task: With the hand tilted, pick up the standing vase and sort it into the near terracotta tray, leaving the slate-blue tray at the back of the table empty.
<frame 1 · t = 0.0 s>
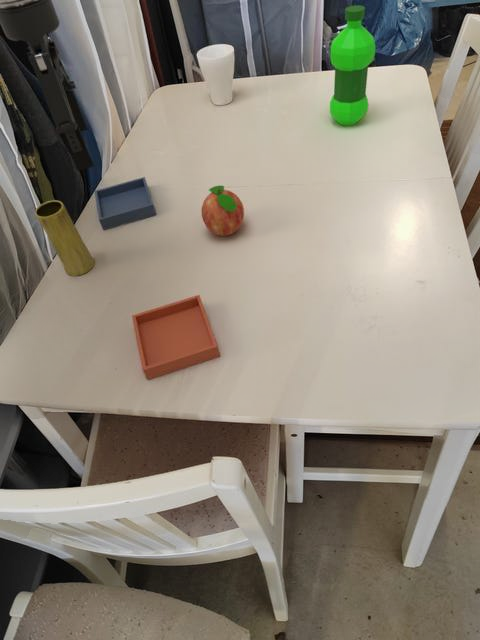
hand: (83, 148, 75), 23 cm above the table, tool pointing down, fingers open, 13 cm apart
cup: (222, 101, 133), on the table
slate tray: (126, 207, 103), on the table
terracotta tray: (176, 340, 75), on the table
plastic bottle: (347, 121, 116), on the table
fruit: (225, 230, 93), on the table
vase: (80, 266, 91), on the table
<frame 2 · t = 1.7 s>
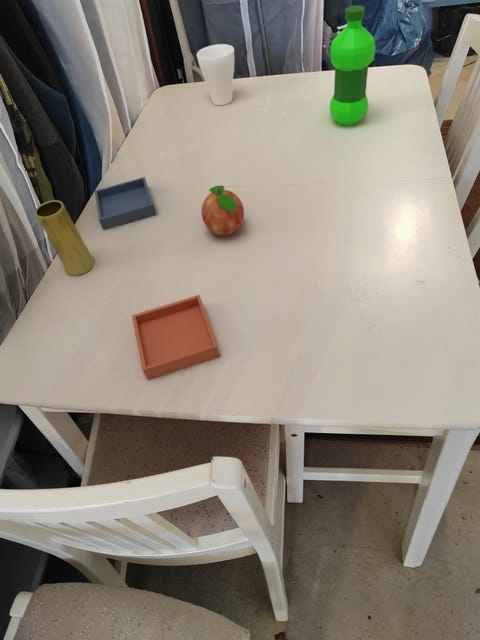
hand: (2, 194, 81), 16 cm above the table, tool tilted 45°, fingers open, 13 cm apart
nothing on the table moved.
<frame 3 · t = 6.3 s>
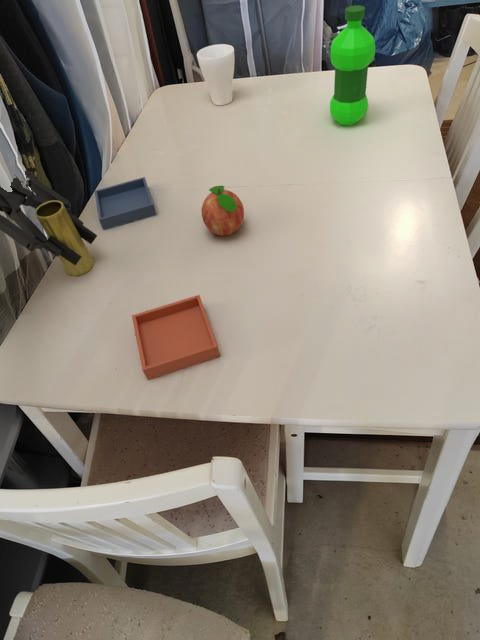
hand: (86, 250, 86), 5 cm above the table, tool tilted 45°, fingers closed on vase, 5 cm apart
vase: (80, 266, 91), on the table, touching gripper
everything else where it was.
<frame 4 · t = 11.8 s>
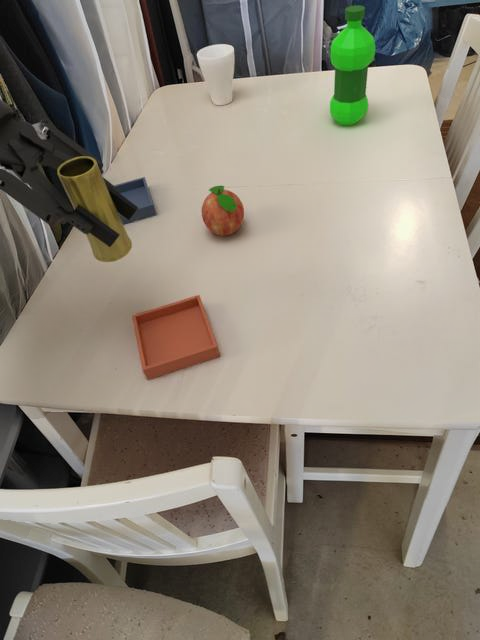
hand: (124, 227, 64), 20 cm above the table, tool tilted 45°, fingers closed on vase, 5 cm apart
vase: (113, 250, 69), point 15 cm above the table, touching gripper
everything else where it was.
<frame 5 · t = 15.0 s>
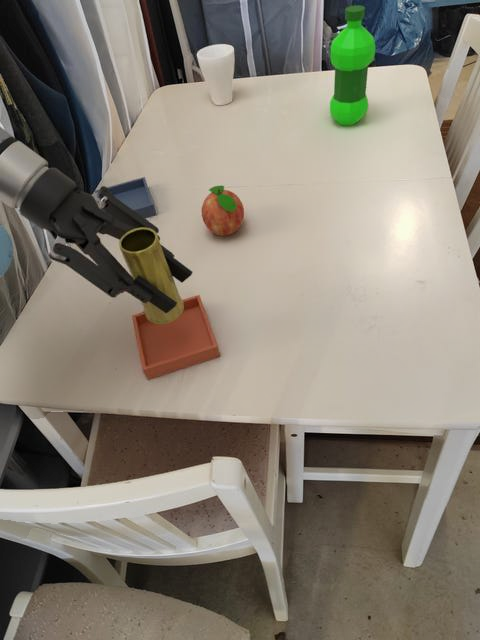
hand: (179, 292, 65), 13 cm above the table, tool tilted 45°, fingers closed on vase, 5 cm apart
vase: (165, 310, 69), point 8 cm above the table, touching gripper
everything else where it was.
when the fingers open (6 cm above the table, at t = 17.3 s): vase stays where it is, resting on terracotta tray.
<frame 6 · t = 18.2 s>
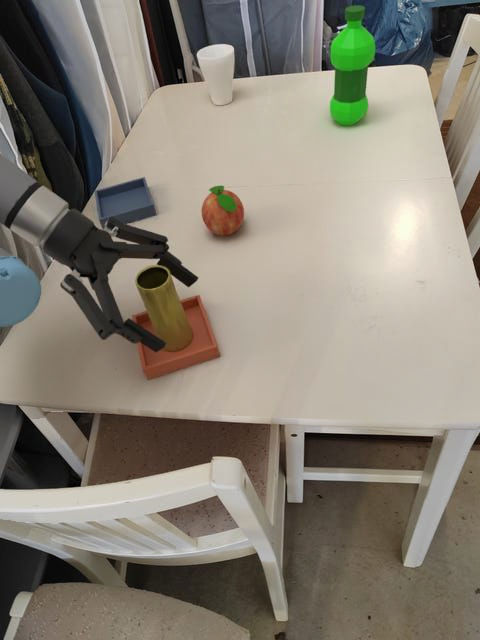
hand: (178, 313, 69), 8 cm above the table, tool tilted 45°, fingers open, 13 cm apart
vase: (175, 338, 75), point 1 cm above the table, touching terracotta tray
everything else where it was.
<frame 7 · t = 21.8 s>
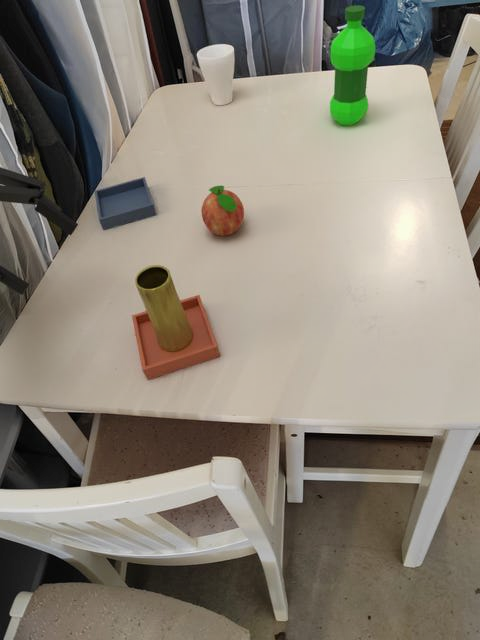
hand: (51, 258, 67), 16 cm above the table, tool tilted 45°, fingers open, 13 cm apart
nothing on the table moved.
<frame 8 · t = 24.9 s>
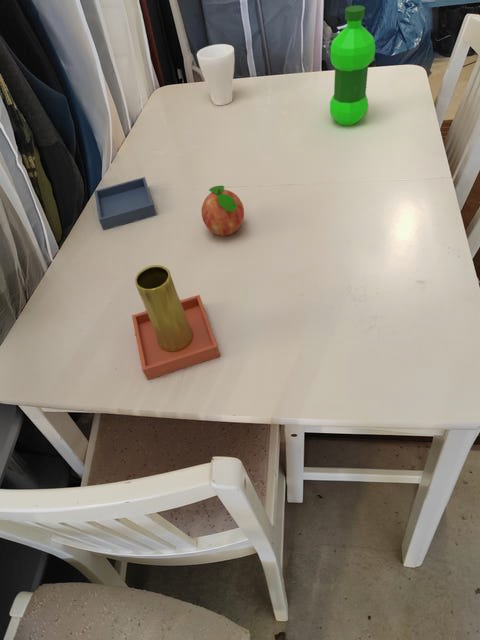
nothing on the table moved.
at the end: vase inside the target area in the terracotta tray (0.0 cm from its centre), point 0.6 cm above the terracotta tray's base; vase tilted 0°; vase touching terracotta tray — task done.
